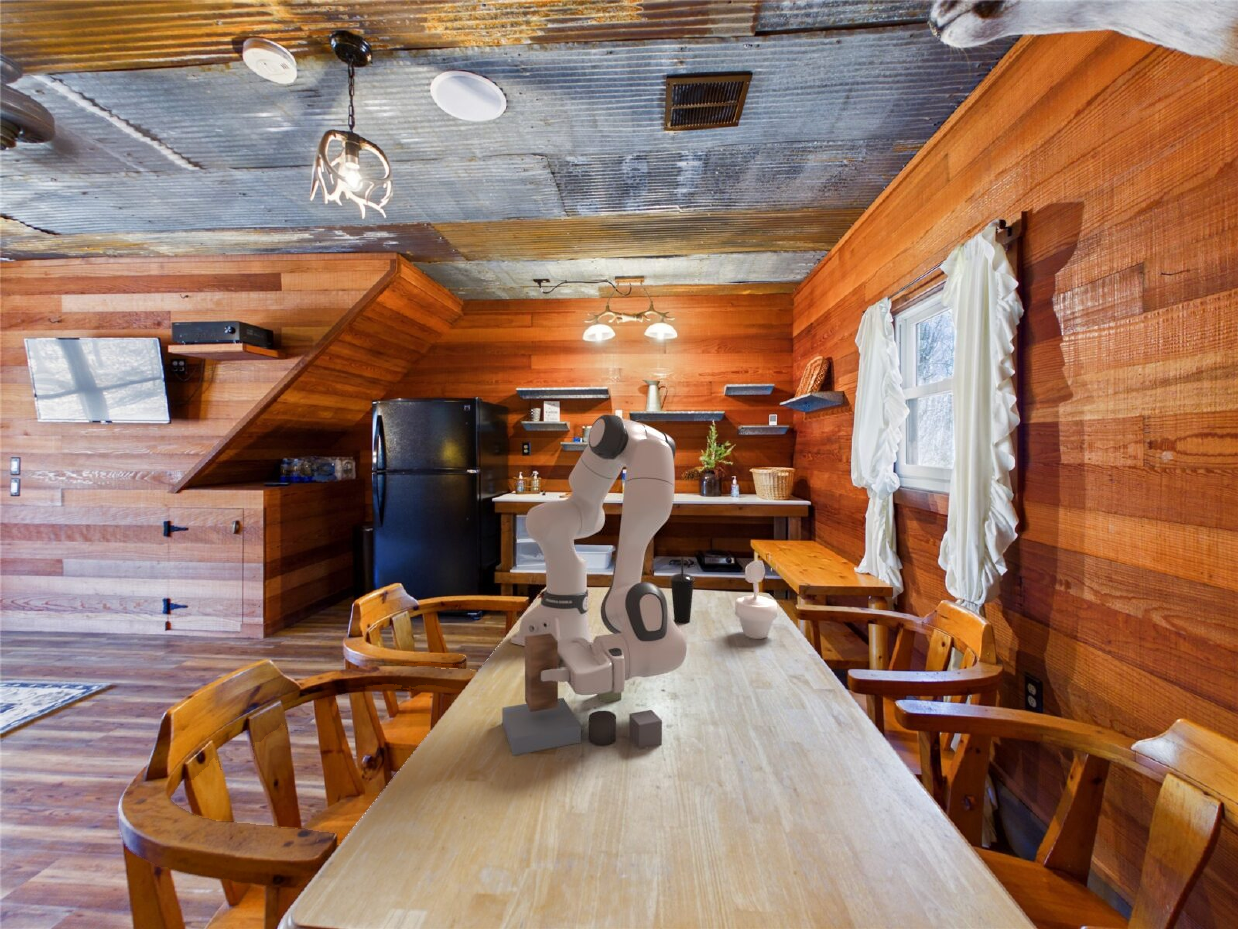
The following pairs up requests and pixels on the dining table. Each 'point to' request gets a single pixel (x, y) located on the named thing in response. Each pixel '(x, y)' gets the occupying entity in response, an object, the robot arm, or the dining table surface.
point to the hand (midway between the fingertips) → (536, 668)
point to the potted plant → (756, 605)
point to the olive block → (609, 696)
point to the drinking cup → (682, 595)
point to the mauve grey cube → (645, 729)
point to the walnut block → (538, 656)
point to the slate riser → (540, 727)
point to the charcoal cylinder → (602, 728)
